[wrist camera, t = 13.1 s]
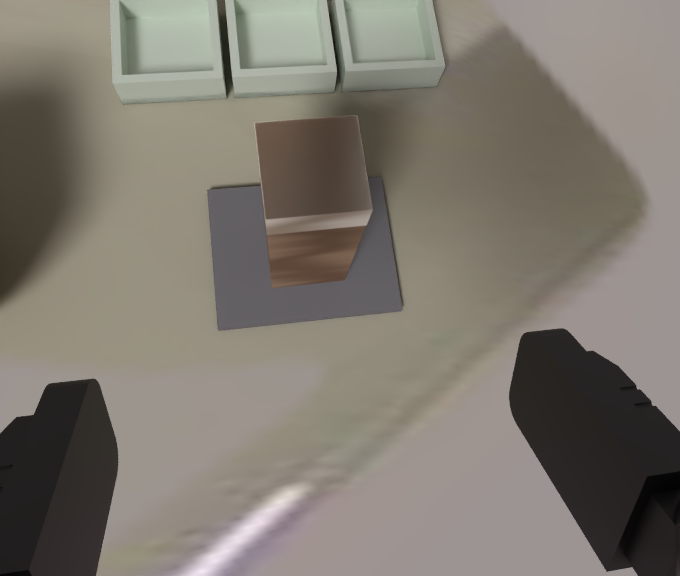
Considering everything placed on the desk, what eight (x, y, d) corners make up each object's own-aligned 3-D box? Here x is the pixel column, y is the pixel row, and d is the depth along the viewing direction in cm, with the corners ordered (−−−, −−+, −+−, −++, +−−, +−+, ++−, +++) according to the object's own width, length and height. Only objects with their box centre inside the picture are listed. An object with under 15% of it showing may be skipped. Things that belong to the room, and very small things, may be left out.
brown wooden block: (271, 288, 30) (265, 220, 20) (263, 219, 31) (254, 122, 21) (344, 280, 30) (372, 210, 21) (334, 212, 31) (356, 115, 22)
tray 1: (122, 104, 32) (112, 83, 30) (119, 17, 34) (109, -8, 32) (226, 98, 33) (223, 77, 31) (219, 14, 35) (215, -11, 33)
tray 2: (235, 97, 33) (232, 77, 31) (227, 13, 35) (223, -12, 33) (334, 92, 34) (337, 71, 32) (322, 10, 35) (324, -15, 33)
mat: (218, 330, 30) (217, 329, 29) (208, 192, 31) (207, 189, 31) (401, 311, 31) (402, 309, 30) (380, 179, 33) (381, 176, 32)
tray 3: (342, 92, 34) (345, 71, 32) (330, 10, 35) (332, -15, 33) (436, 86, 35) (445, 66, 33) (420, 6, 36) (428, -18, 34)
